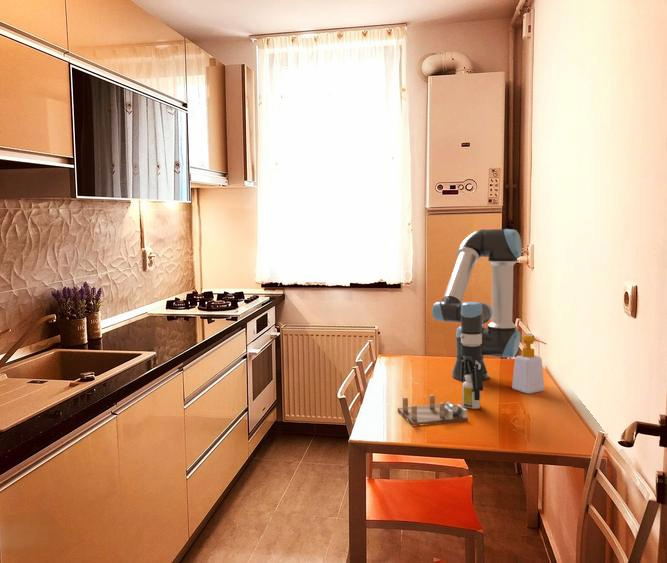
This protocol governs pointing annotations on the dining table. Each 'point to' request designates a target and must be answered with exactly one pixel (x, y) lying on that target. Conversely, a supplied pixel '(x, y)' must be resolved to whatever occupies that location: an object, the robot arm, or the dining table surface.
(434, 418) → the board
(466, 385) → the pill bottle
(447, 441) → the dining table surface
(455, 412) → the pin
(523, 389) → the soap bottle
